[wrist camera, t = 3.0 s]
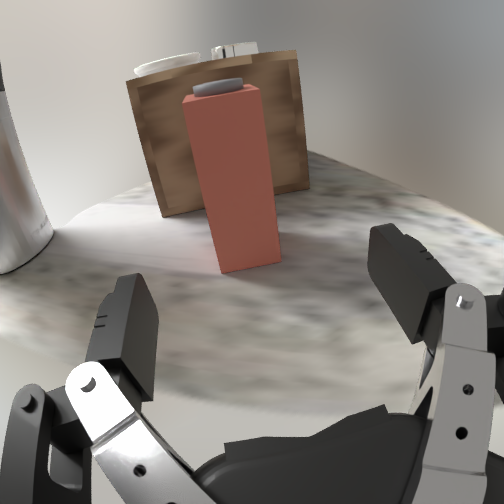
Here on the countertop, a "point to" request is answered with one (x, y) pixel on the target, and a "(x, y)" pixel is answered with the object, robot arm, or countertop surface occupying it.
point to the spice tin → (234, 172)
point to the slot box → (176, 134)
